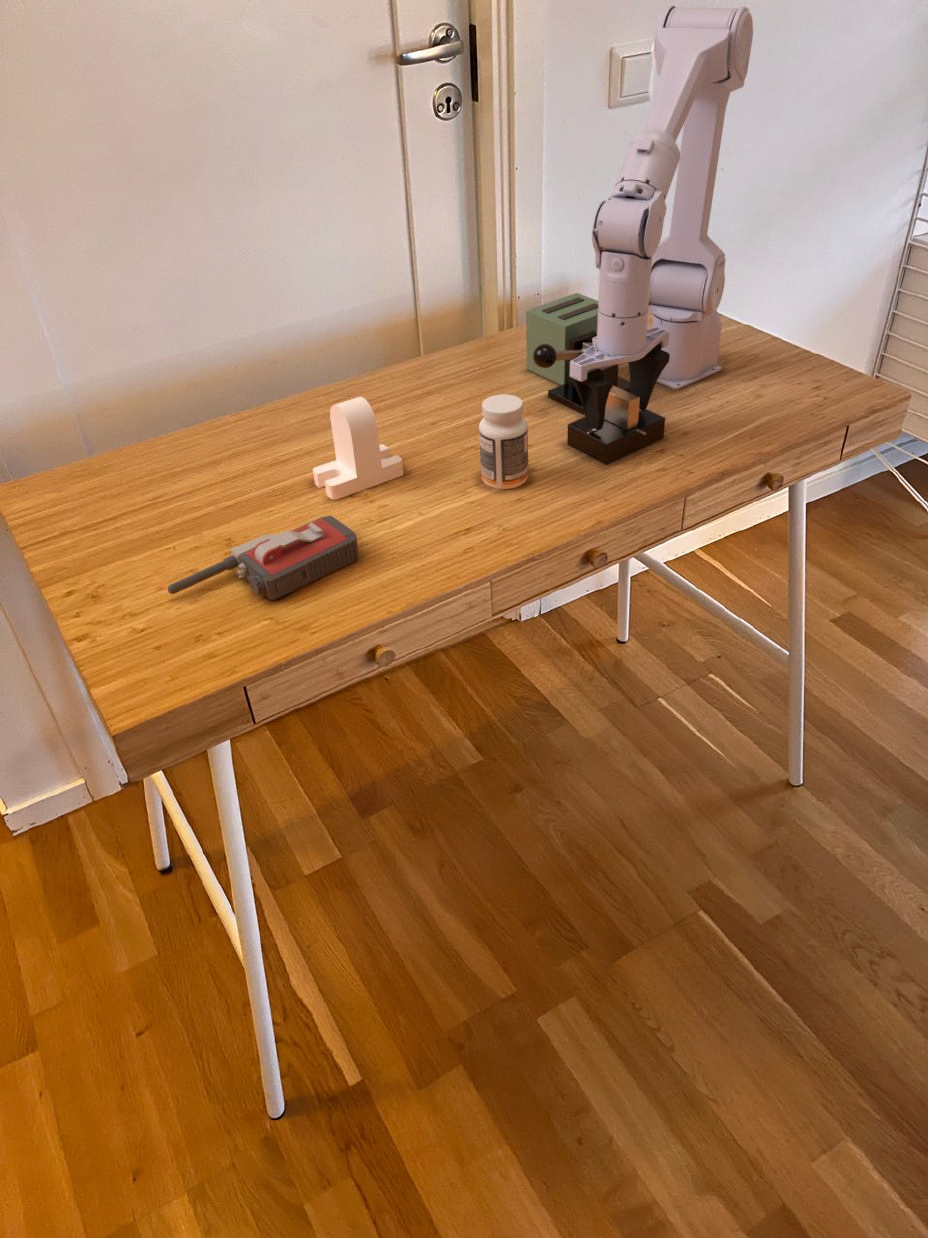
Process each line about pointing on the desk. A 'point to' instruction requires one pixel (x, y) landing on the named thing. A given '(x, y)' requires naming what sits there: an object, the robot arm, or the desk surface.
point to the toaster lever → (556, 354)
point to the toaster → (559, 330)
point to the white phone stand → (356, 452)
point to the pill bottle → (503, 442)
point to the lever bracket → (567, 391)
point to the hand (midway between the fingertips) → (616, 416)
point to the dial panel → (615, 437)
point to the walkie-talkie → (286, 558)
